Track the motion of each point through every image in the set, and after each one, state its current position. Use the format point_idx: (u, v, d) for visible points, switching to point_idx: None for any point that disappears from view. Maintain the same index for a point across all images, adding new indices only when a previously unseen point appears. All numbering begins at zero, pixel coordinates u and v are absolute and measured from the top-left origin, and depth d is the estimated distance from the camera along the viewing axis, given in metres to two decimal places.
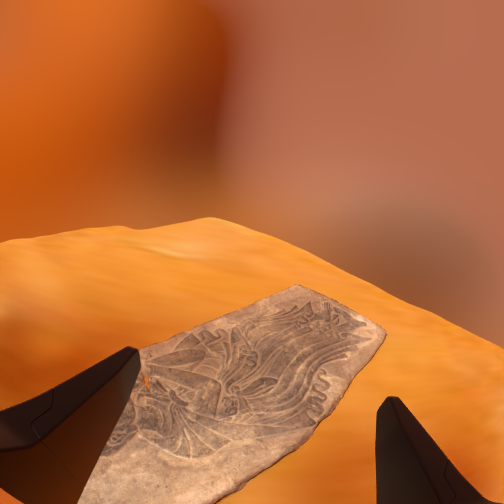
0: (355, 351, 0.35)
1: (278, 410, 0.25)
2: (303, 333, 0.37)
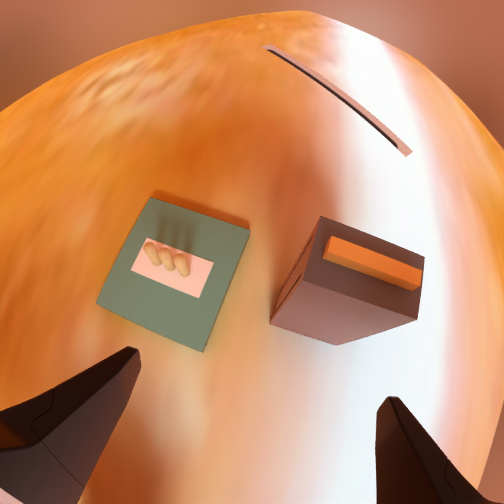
0: None
1: None
2: None
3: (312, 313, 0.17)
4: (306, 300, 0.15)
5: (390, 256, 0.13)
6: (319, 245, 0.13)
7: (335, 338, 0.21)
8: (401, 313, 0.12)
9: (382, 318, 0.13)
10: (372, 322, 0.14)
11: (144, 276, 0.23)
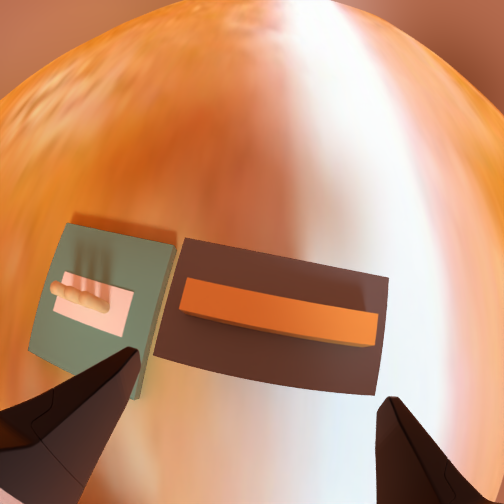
0: None
1: None
2: None
3: None
4: None
5: (318, 290, 0.08)
6: (180, 291, 0.08)
7: None
8: (342, 391, 0.07)
9: None
10: None
11: (66, 316, 0.18)
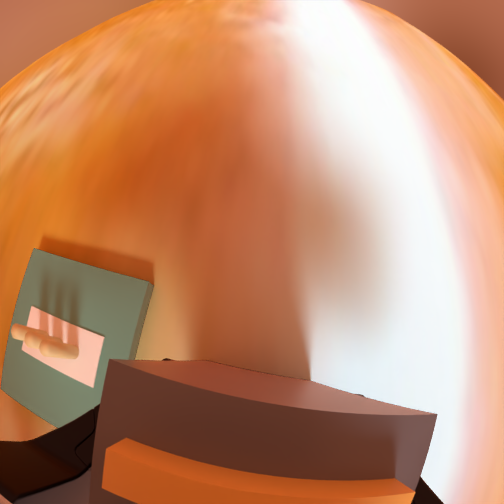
0: None
1: None
2: None
3: None
4: None
5: (328, 452, 0.04)
6: (110, 442, 0.04)
7: None
8: None
9: None
10: None
11: (35, 358, 0.14)
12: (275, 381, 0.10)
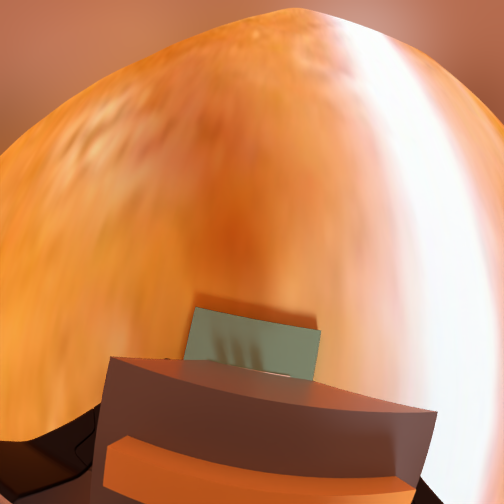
0: None
1: None
2: None
3: None
4: None
5: (329, 450, 0.04)
6: (111, 440, 0.04)
7: None
8: None
9: None
10: None
11: None
12: (275, 380, 0.10)
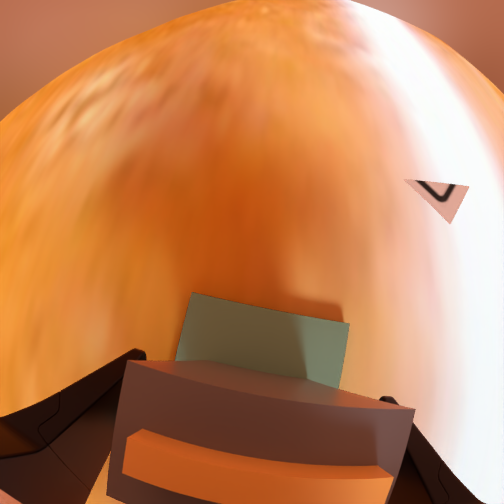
0: None
1: None
2: None
3: None
4: None
5: (317, 440, 0.05)
6: (127, 433, 0.05)
7: None
8: None
9: None
10: None
11: None
12: (273, 379, 0.11)
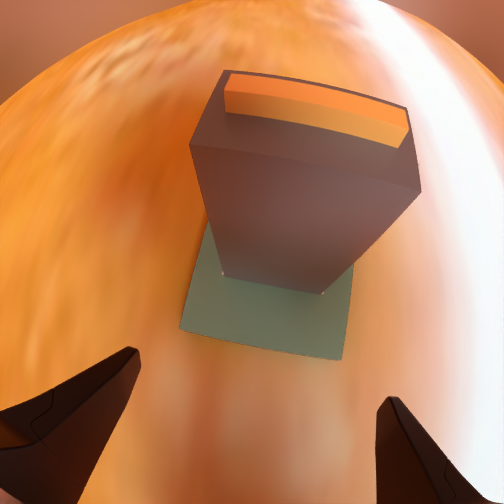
0: None
1: None
2: None
3: (254, 231, 0.11)
4: (227, 200, 0.09)
5: None
6: (220, 98, 0.07)
7: (312, 280, 0.15)
8: (389, 180, 0.07)
9: (360, 206, 0.08)
10: (348, 224, 0.09)
11: None
12: None
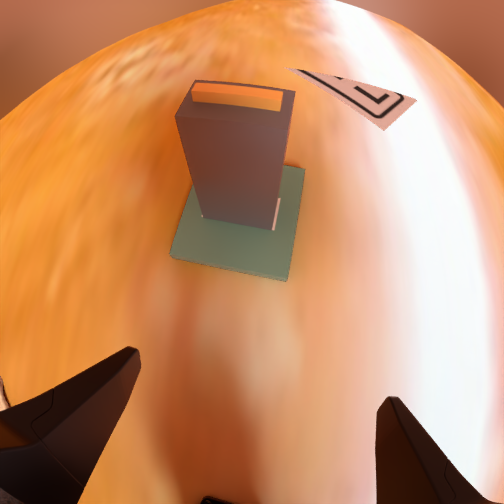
0: None
1: None
2: None
3: (213, 169, 0.18)
4: (195, 147, 0.16)
5: None
6: (191, 95, 0.15)
7: (260, 213, 0.22)
8: (268, 126, 0.14)
9: (262, 143, 0.15)
10: (261, 157, 0.16)
11: None
12: None
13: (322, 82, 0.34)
